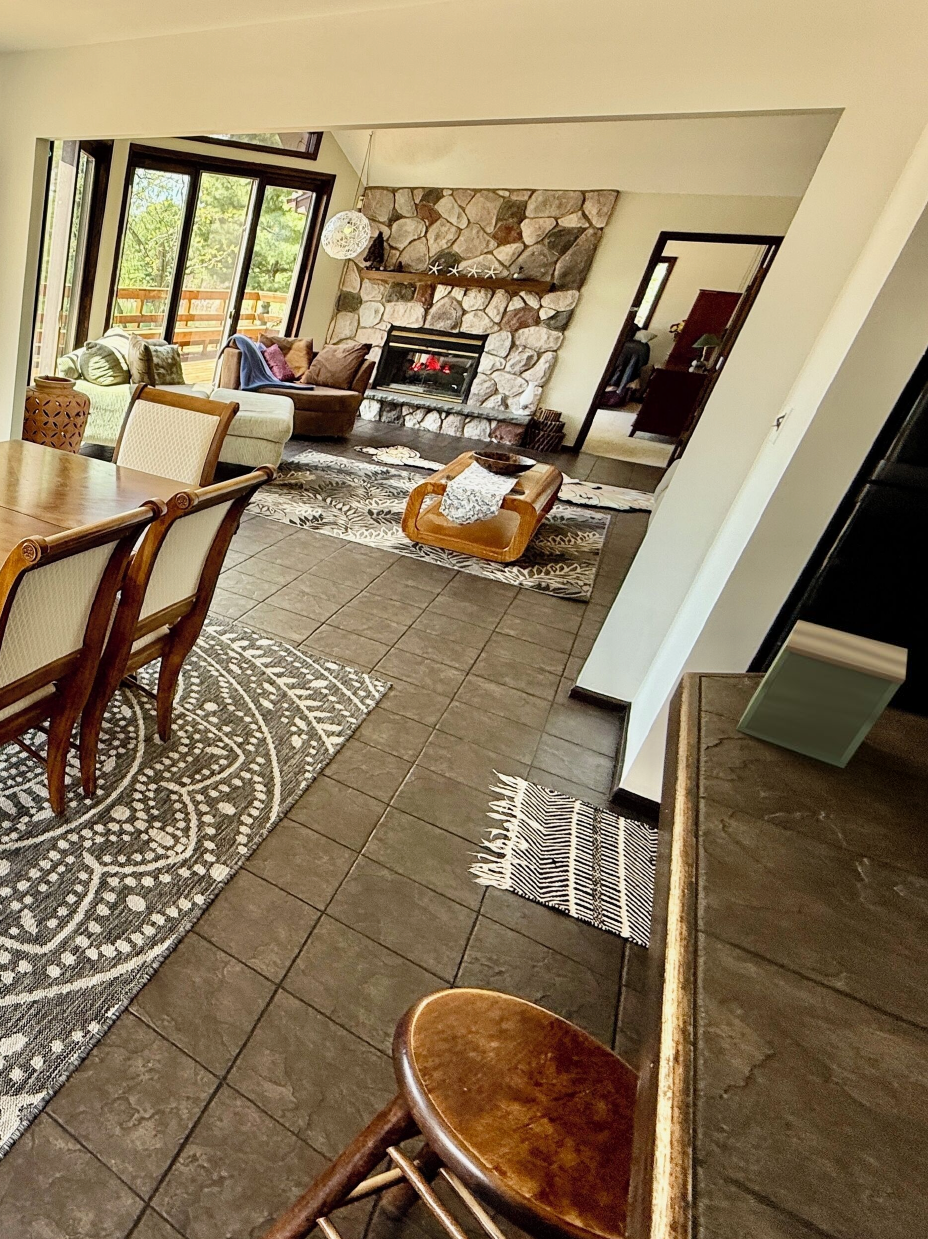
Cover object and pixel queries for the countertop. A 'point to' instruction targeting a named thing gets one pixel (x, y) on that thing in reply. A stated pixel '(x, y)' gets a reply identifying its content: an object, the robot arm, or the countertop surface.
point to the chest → (816, 707)
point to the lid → (849, 651)
